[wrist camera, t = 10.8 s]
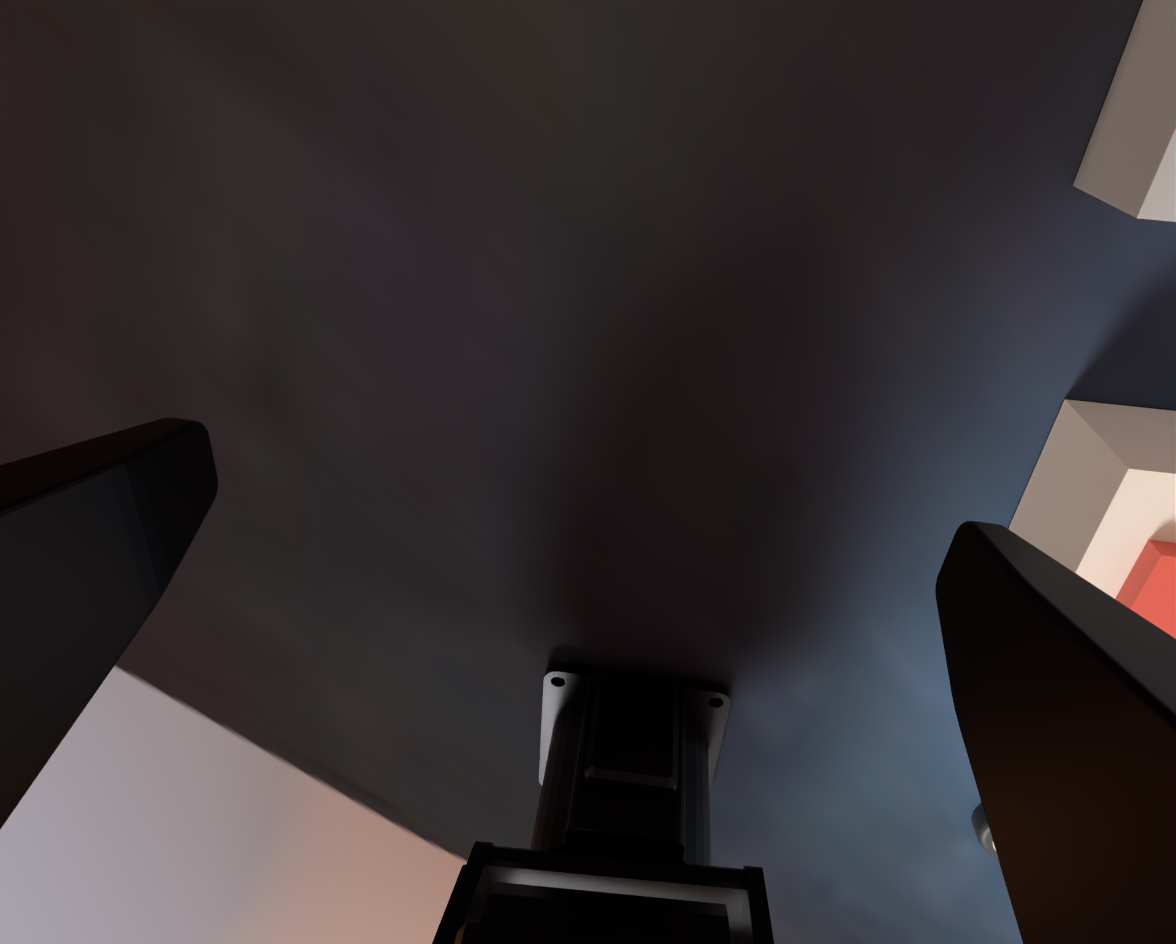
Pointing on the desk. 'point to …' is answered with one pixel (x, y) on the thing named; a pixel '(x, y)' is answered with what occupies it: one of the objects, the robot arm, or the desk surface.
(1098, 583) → the power strip
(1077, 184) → the tray
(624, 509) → the desk surface
